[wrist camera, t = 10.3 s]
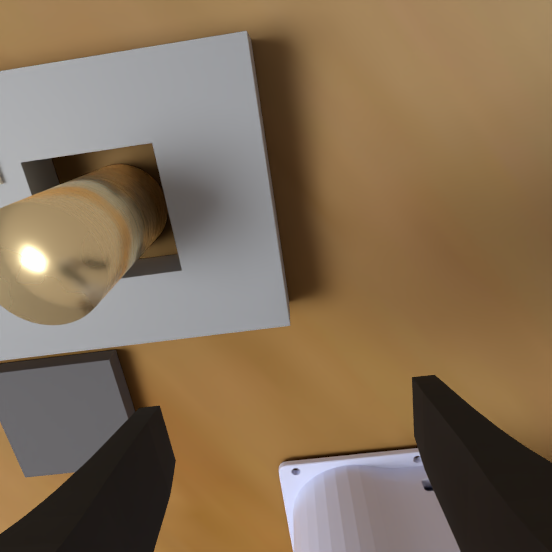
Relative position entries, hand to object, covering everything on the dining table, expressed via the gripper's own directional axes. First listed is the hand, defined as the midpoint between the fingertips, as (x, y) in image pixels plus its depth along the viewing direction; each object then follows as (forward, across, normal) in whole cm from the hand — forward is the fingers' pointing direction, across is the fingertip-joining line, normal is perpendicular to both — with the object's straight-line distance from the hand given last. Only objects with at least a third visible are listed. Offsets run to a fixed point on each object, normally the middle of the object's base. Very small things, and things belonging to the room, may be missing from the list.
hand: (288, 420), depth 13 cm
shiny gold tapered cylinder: (+10, +7, -5) cm, 13 cm away
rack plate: (+10, +10, -5) cm, 15 cm away
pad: (+10, +13, +6) cm, 18 cm away
